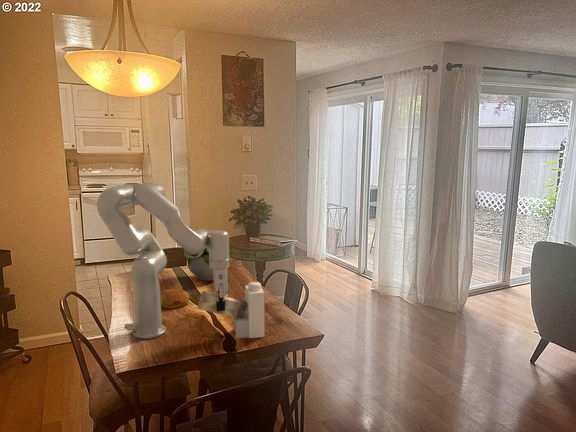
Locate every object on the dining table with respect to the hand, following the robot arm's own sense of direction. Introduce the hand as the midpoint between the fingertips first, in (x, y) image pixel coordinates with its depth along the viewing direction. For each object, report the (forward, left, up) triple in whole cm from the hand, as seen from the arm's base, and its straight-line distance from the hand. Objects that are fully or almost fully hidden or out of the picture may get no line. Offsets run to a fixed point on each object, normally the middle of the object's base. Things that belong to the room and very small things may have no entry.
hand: (220, 308), depth 163 cm
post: (+11, 0, -11) cm, 16 cm away
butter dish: (+1, +34, -12) cm, 36 cm away
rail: (0, 0, -2) cm, 2 cm away
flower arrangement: (-2, +75, -11) cm, 76 cm away
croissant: (-19, +40, -12) cm, 45 cm away
